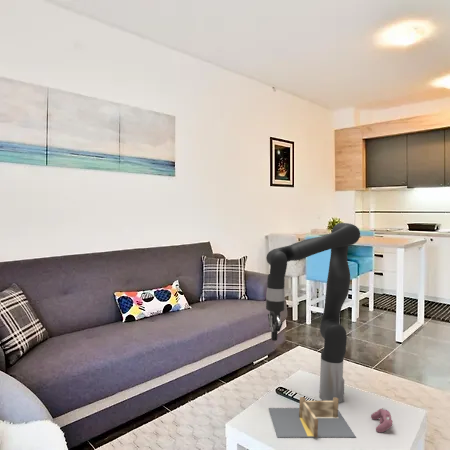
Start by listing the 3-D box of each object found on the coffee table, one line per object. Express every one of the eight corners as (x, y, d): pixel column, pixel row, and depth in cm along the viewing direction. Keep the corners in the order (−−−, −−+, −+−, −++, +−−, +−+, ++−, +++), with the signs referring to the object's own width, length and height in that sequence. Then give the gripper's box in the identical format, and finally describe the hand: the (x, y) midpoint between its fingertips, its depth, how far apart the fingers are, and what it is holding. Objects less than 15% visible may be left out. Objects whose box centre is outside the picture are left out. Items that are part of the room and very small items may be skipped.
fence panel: (301, 417, 138) (302, 402, 137) (304, 417, 138) (305, 402, 138) (314, 437, 126) (315, 420, 125) (318, 437, 126) (318, 420, 125)
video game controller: (386, 438, 130) (396, 422, 129) (375, 431, 131) (385, 415, 130) (380, 423, 140) (389, 408, 139) (369, 416, 140) (378, 401, 140)
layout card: (337, 408, 146) (337, 407, 146) (355, 437, 127) (355, 436, 127) (268, 408, 145) (268, 407, 145) (277, 437, 126) (277, 436, 126)
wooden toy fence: (336, 415, 141) (337, 397, 141) (338, 419, 139) (339, 400, 138) (298, 415, 140) (299, 396, 140) (299, 419, 138) (300, 399, 138)
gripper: (289, 302, 142) (288, 345, 143) (279, 294, 155) (277, 334, 156) (271, 302, 141) (270, 346, 142) (262, 294, 154) (261, 334, 155)
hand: (274, 339), depth 149 cm, fingers closed
